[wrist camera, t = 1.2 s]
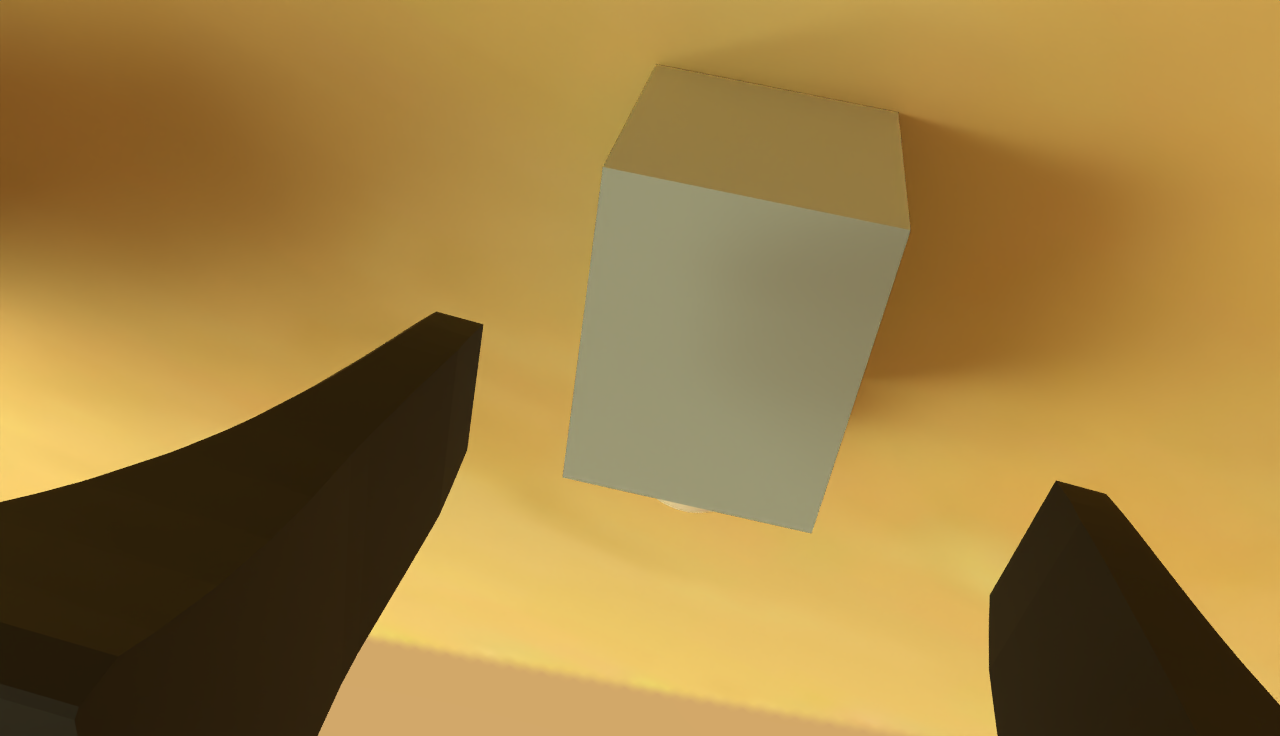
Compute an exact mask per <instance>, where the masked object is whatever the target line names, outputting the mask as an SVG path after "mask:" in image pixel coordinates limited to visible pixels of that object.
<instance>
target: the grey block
mask: <svg viewBox="0 0 1280 736" xmlns="http://www.w3.org/2000/svg"><path fill="white" fill-rule="evenodd" d="M910 231H911V228H910V218H909V209H908V199H907V190H906V180H905V171H904V161H903V152H902V142H901V133H900V123H899V114H898V112H895V111H890V110H885V109H879V108H874V107H869V106H864V105H859V104H854V103H849V102H844V101H839V100H834V99H829V98H824V97H819V96H814V95H809V94H804V93H799V92H794V91H789V90H784V89H779V88H774V87H769V86H764V85H759V84H754V83H749V82H744V81H739V80H734V79H729V78H724V77H719V76H714V75H709V74H704V73H698V72H693V71H688V70H683V69H678V68H673V67H668V66H663V65H658V64H656V66H655V68H654V70H653V71H652V73H651V75H650V77H649V79H648V81H647V83H646V85H645V87H644V89H643V91H642V93H641V95H640V97H639V98H638V100H637V102H636V104H635V106H634V108H633V110H632V112H631V114H630V116H629V118H628V120H627V122H626V123H625V125H624V127H623V129H622V131H621V133H620V135H619V137H618V139H617V141H616V143H615V145H614V147H613V149H612V150H611V152H610V154H609V156H608V158H607V160H606V162H605V164H604V166H603V170H602V178H601V186H600V193H599V201H598V209H597V217H596V224H595V232H594V240H593V247H592V255H591V263H590V270H589V278H588V286H587V294H586V301H585V309H584V317H583V324H582V332H581V340H580V347H579V355H578V363H577V371H576V378H575V386H574V394H573V401H572V409H571V417H570V424H569V432H568V440H567V448H566V455H565V463H564V471H563V478H568V479H572V480H577V481H581V482H585V483H590V484H594V485H599V486H603V487H608V488H612V489H617V490H621V491H625V492H630V493H634V494H639V495H643V496H648V497H652V498H656V499H658V500H659V501H661V502H662V503H664V504H666V505H668V506H670V507H672V508H675V509H678V510H681V511H685V512H692V513H707V512H713V511H714V512H719V513H723V514H728V515H732V516H736V517H741V518H745V519H750V520H754V521H759V522H763V523H768V524H772V525H776V526H781V527H785V528H790V529H794V530H799V531H803V532H808V533H812V530H813V527H814V524H815V521H816V518H817V515H818V512H819V509H820V506H821V503H822V500H823V497H824V494H825V491H826V488H827V485H828V482H829V479H830V475H831V472H832V469H833V466H834V463H835V460H836V457H837V454H838V451H839V448H840V445H841V442H842V439H843V436H844V433H845V430H846V427H847V423H848V420H849V417H850V414H851V411H852V408H853V405H854V402H855V399H856V396H857V393H858V390H859V387H860V384H861V381H862V378H863V375H864V372H865V368H866V365H867V362H868V359H869V356H870V353H871V350H872V347H873V344H874V341H875V338H876V335H877V332H878V329H879V326H880V323H881V320H882V317H883V313H884V310H885V307H886V304H887V301H888V298H889V295H890V292H891V289H892V286H893V283H894V280H895V277H896V274H897V271H898V268H899V265H900V262H901V258H902V255H903V252H904V249H905V246H906V243H907V240H908V237H909V234H910Z"/></svg>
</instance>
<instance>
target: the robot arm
mask: <svg viewBox="0 0 1280 736" xmlns="http://www.w3.org/2000/svg"><path fill="white" fill-rule="evenodd" d="M482 331H483V324H480V323H476V322H472V321H469V320H465V319H461V318H458V317H454V316H450V315H447V314H443V313H439V312H435V313H433V314H431V315H430V316H428V317H426V318H424V319H423V320H421V321H419V322H418V323H416V324H415V325H413V326H411V327H410V328H408V329H407V330H405V331H404V332H402V333H400V334H399V335H397V336H396V337H394V338H393V339H391V340H389V341H388V342H386V343H385V344H383V345H382V346H380V347H378V348H377V349H375V350H374V351H372V352H370V353H369V354H367V355H366V356H364V357H362V358H361V359H359V360H357V361H356V362H354V363H352V364H351V365H349V366H347V367H346V368H344V369H342V370H340V371H339V372H337V373H335V374H334V375H332V376H330V377H329V378H327V379H325V380H324V381H322V382H320V383H318V384H317V385H315V386H313V387H311V388H310V389H308V390H306V391H304V392H302V393H300V394H298V395H296V396H294V397H293V398H291V399H289V400H287V401H285V402H283V403H281V404H279V405H277V406H275V407H273V408H271V409H270V410H268V411H266V412H264V413H262V414H260V415H258V416H256V417H254V418H252V419H250V420H248V421H246V422H243V423H241V424H239V425H237V426H234V427H232V428H230V429H228V430H225V431H223V432H221V433H218V434H216V435H213V436H211V437H208V438H206V439H204V440H201V441H199V442H196V443H194V444H191V445H189V446H186V447H184V448H181V449H179V450H176V451H173V452H171V453H168V454H165V455H162V456H159V457H156V458H153V459H150V460H147V461H144V462H141V463H138V464H135V465H132V466H129V467H125V468H122V469H119V470H116V471H113V472H110V473H107V474H104V475H101V476H98V477H95V478H92V479H89V480H85V481H82V482H78V483H75V484H71V485H67V486H63V487H60V488H56V489H52V490H48V491H45V492H41V493H37V494H33V495H29V496H25V497H20V498H16V499H12V500H8V501H3V502H0V736H318V733H319V731H320V729H321V727H322V725H323V723H324V721H325V718H326V716H327V714H328V712H329V710H330V708H331V705H332V703H333V701H334V699H335V696H336V695H337V692H338V690H339V688H340V686H341V684H342V682H343V680H344V678H345V676H346V674H347V673H348V671H349V669H350V667H351V665H352V663H353V661H354V660H355V658H356V656H357V654H358V652H359V651H360V649H361V647H362V645H363V644H364V642H365V640H366V639H367V637H368V635H369V634H370V632H371V630H372V629H373V627H374V625H375V624H376V622H377V620H378V619H379V617H380V615H381V613H382V612H383V610H384V608H385V607H386V605H387V603H388V602H389V600H390V598H391V597H392V595H393V593H394V592H395V590H396V588H397V587H398V585H399V583H400V581H401V580H402V578H403V576H404V575H405V573H406V571H407V570H408V568H409V566H410V565H411V563H412V561H413V560H414V558H415V556H416V554H417V553H418V551H419V549H420V548H421V546H422V544H423V542H424V541H425V539H426V537H427V536H428V534H429V532H430V530H431V529H432V527H433V525H434V524H435V522H436V520H437V518H438V517H439V515H440V512H441V510H442V508H443V505H444V503H445V501H446V499H447V496H448V494H449V492H450V490H451V487H452V485H453V482H454V480H455V478H456V475H457V473H458V470H459V468H460V466H461V463H462V461H463V459H464V456H465V454H466V451H467V446H468V439H469V431H470V423H471V415H472V408H473V400H474V392H475V385H476V377H477V369H478V361H479V354H480V346H481V338H482ZM989 673H990V681H991V690H992V697H993V705H994V712H995V720H996V727H997V734H998V736H1280V705H1279V704H1278V703H1277V701H1276V700H1275V699H1274V698H1273V697H1272V696H1271V695H1270V694H1269V692H1268V691H1267V690H1266V689H1265V688H1264V687H1263V686H1262V685H1261V683H1260V682H1259V681H1258V680H1257V679H1256V678H1255V677H1254V676H1253V674H1252V673H1251V672H1250V671H1249V670H1248V669H1247V668H1246V666H1245V665H1244V664H1243V663H1242V662H1241V661H1240V660H1239V658H1238V657H1237V656H1236V655H1235V654H1234V652H1233V651H1232V650H1231V649H1230V648H1229V646H1228V645H1227V644H1226V643H1225V642H1224V641H1223V639H1222V638H1221V637H1220V636H1219V635H1218V633H1217V632H1216V631H1215V630H1214V628H1213V627H1212V626H1211V625H1210V623H1209V622H1208V621H1207V620H1206V619H1205V617H1204V616H1203V615H1202V614H1201V612H1200V611H1199V610H1198V609H1197V607H1196V606H1195V605H1194V604H1193V602H1192V601H1191V600H1190V599H1189V597H1188V596H1187V595H1186V593H1185V592H1184V591H1183V590H1182V588H1181V587H1180V586H1179V585H1178V583H1177V582H1176V581H1175V579H1174V578H1173V577H1172V576H1171V574H1170V573H1169V572H1168V570H1167V569H1166V568H1165V567H1164V565H1163V564H1162V563H1161V561H1160V560H1159V559H1158V558H1157V556H1156V555H1155V554H1154V552H1153V551H1152V550H1151V548H1150V547H1149V546H1148V545H1147V543H1146V542H1145V541H1144V539H1143V538H1142V537H1141V536H1140V534H1139V533H1138V532H1137V531H1136V529H1135V528H1134V527H1133V525H1132V524H1131V523H1130V522H1129V520H1128V519H1127V518H1126V517H1125V516H1124V514H1123V513H1122V512H1121V511H1120V510H1119V508H1118V507H1117V506H1116V505H1115V504H1114V503H1113V501H1112V500H1111V499H1110V498H1109V497H1108V496H1107V495H1106V494H1104V493H1100V492H1096V491H1093V490H1089V489H1085V488H1082V487H1078V486H1074V485H1071V484H1067V483H1063V482H1060V481H1056V482H1055V483H1054V485H1053V487H1052V488H1051V490H1050V492H1049V494H1048V495H1047V497H1046V499H1045V501H1044V502H1043V504H1042V506H1041V507H1040V509H1039V511H1038V513H1037V514H1036V516H1035V518H1034V520H1033V521H1032V523H1031V525H1030V527H1029V528H1028V530H1027V532H1026V533H1025V535H1024V537H1023V539H1022V540H1021V542H1020V544H1019V546H1018V547H1017V549H1016V551H1015V552H1014V554H1013V556H1012V558H1011V559H1010V561H1009V563H1008V565H1007V566H1006V568H1005V570H1004V572H1003V573H1002V575H1001V577H1000V578H999V580H998V582H997V584H996V585H995V587H994V589H993V591H992V592H991V594H990V608H989Z"/></svg>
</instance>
